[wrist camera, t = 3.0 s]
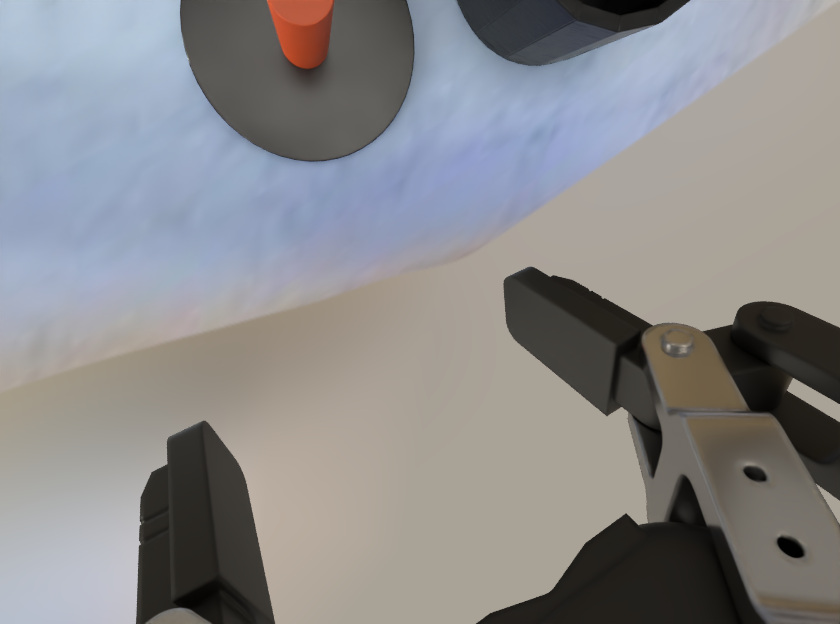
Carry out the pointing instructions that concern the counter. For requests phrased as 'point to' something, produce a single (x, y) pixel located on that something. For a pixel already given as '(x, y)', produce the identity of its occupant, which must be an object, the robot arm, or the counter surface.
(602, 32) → the pot
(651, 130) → the counter surface
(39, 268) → the counter surface
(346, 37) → the lid
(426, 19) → the counter surface
